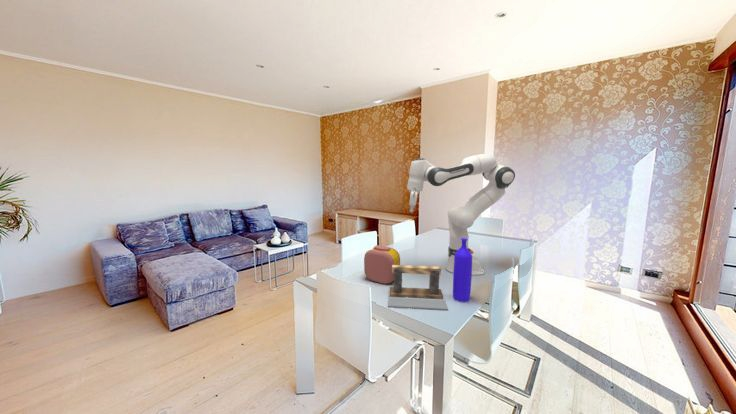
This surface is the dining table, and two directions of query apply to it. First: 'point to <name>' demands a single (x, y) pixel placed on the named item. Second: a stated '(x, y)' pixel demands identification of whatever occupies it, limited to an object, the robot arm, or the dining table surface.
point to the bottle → (462, 273)
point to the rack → (416, 292)
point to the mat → (417, 303)
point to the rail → (416, 269)
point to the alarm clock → (381, 264)
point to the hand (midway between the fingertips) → (411, 210)
